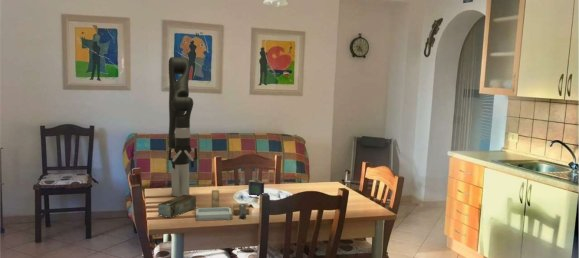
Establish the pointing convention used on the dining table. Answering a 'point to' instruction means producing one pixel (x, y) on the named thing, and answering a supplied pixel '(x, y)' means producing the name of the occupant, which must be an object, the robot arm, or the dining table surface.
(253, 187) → the flask
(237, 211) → the tan flat block
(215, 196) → the tan cylinder
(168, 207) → the beverage carton
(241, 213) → the stop post
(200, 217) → the tray
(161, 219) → the dining table surface
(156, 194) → the dining table surface
